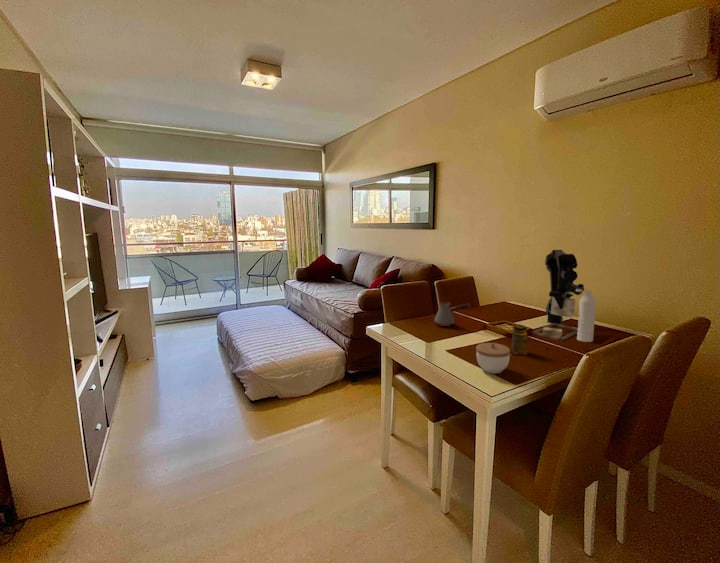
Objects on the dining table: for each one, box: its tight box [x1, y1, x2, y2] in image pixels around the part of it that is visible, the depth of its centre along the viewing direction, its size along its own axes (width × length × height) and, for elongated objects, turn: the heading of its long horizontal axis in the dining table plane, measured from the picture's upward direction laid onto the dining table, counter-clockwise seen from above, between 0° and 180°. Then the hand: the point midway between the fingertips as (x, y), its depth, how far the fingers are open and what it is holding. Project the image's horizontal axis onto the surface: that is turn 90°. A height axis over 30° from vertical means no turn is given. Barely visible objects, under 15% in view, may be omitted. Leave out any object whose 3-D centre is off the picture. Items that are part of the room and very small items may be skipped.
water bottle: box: [576, 289, 597, 343], centre depth 162 cm, size 9×6×25 cm
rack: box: [531, 323, 578, 342], centre depth 175 cm, size 14×23×2 cm, turn 126°
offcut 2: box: [541, 331, 564, 338], centre depth 172 cm, size 8×5×2 cm, turn 46°
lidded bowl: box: [475, 342, 511, 375], centre depth 135 cm, size 13×13×11 cm
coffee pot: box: [433, 301, 470, 325], centre depth 193 cm, size 21×12×15 cm, turn 44°
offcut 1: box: [542, 326, 563, 335], centre depth 171 cm, size 8×5×2 cm, turn 53°
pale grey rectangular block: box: [551, 297, 576, 318], centre depth 175 cm, size 10×3×9 cm, turn 36°
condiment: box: [511, 324, 528, 353], centre depth 152 cm, size 7×8×12 cm
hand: (562, 308), depth 175 cm, fingers closed on pale grey rectangular block, 3 cm apart
